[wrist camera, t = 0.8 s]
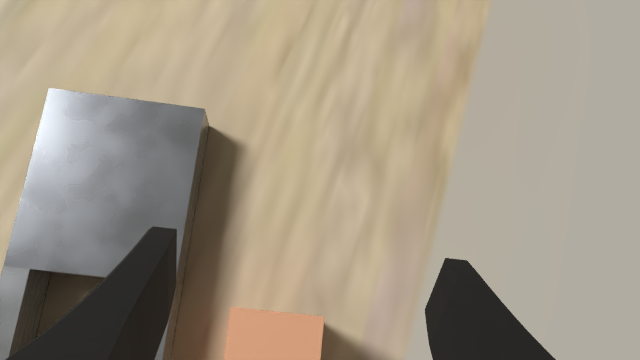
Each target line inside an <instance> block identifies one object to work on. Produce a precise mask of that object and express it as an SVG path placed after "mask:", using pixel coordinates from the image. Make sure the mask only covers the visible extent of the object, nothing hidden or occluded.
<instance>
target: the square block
mask: <svg viewBox="0 0 640 360" xmlns="http://www.w3.org/2000/svg"><path fill="white" fill-rule="evenodd" d="M323 326H324V317H321V316H312V315H303V314H293V313H283V312H273V311H264V310H254V309H244V308H234V307H231V308H230V315H229V323H228V330H227V337H226V344H225V351H224V358H223V360H320V358H321V347H322V337H323Z"/></svg>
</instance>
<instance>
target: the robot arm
mask: <svg viewBox="0 0 640 360" xmlns="http://www.w3.org/2000/svg"><path fill="white" fill-rule="evenodd" d="M176 269H177V229H172V228H163V227H154V226H153V227H151V228H150V229H148V230H147V232H146V233H145V234H144V236H143V237H142V238H141V239H140V240H139V242H138V243H137V244H136V245H135V246H134V247H133V249H132V250H131V251H130V252H129V253H128V254H127V255H126V256H125V258H124V259H123V260H122V261H121V262H120V263H119V264H118V265H117V266H116V267H115V268H114V269H113V270H112V271H111V272H110V273H109V274H108V275H107V277H106V278H105V279H104V280H103V281H102V282H101V283H100V284H99V285H98V286H96V287H95V288H94V289H93V290H92V291H91V292H90V293H89V294H88V295H87V296H86V297H85V298H84V299H82V300H81V301H80V302H79V303H78V304H77V305H76V306H75V307H74V308H73V309H71V310H70V311H69V312H68V313H67V314H66V315H64V316H63V317H62V318H61V319H60V320H58V321H57V322H56V323H55V324H53V325H52V326H51V327H50V328H48V329H47V330H46V331H44V332H43V333H42V334H41V335H39V336H38V337H36V338H35V339H34V340H32V341H31V342H30V343H28V344H27V345H25V346H24V347H23V348H21V349H20V350H19V351H17V352H16V353H14V354H13V355H11V356H10V357H8V358H7V359H5V360H155V357H156V354H157V351H158V349H159V346H160V343H161V340H162V337H163V334H164V332H165V329H166V326H167V323H168V320H169V315H170V311H171V307H172V303H173V298H174V294H175V289H176ZM425 315H426V324H427V332H428V339H429V345H430V350H431V354H432V358H433V360H556V359H554V358H553V357H552V356H551V355H550V354H549V353H548V352H547V351H546V350H545V349H544V348H543V347H542V346H541V345H540V343H538V341H537V340H536V339H535V338H534V337H533V336H532V335H531V334H530V333H529V332H528V331H527V330H526V329H525V328H524V327H523V325H521V323H520V322H519V321H518V320H517V319H516V318H515V317H514V315H513V314H512V313H511V312H510V311H509V310H508V309H507V307H506V306H505V305H504V304H503V303H502V302H501V301H500V299H499V298H498V297H497V296H496V294H495V293H494V292H493V291H492V290H491V289H490V287H489V286H488V285H487V284H486V283H485V281H484V280H483V279H482V278H481V276H480V275H479V274H478V273H477V272H476V270H475V269H474V268H473V267H472V266H471V265H470V263H469V262H468V261H466V260H457V259H449V258H445V260H444V263H443V265H442V268H441V270H440V273H439V276H438V278H437V280H436V283H435V286H434V288H433V291H432V293H431V296H430V298H429V301H428V303H427V306H426V308H425Z"/></svg>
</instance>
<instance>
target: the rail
mask: <svg viewBox="0 0 640 360" xmlns="http://www.w3.org/2000/svg"><path fill="white" fill-rule="evenodd" d="M208 129H209V123H208V119H207V116H206V112H205V109H202V108H194V107H187V106H180V105H172V104H165V103H157V102H150V101H143V100H135V99H128V98H120V97H113V96H105V95H98V94H91V93H83V92H76V91H68V90H61V89H54V88H49V90H48V94H47V98H46V102H45V106H44V110H43V114H42V118H41V122H40V126H39V129H38V133H37V137H36V141H35V145H34V149H33V153H32V157H31V161H30V165H29V168H28V172H27V176H26V180H25V184H24V188H23V192H22V196H21V200H20V204H19V207H18V211H17V215H16V219H15V223H14V227H13V231H12V235H11V239H10V243H9V246H8V250H7V254H6V258H5V262H4V266H3V270H2V274H1V278H0V360H5V359H7V358H8V357H10V356H11V355H13V354H14V353H16V352H17V351H19V350H20V349H21V348H23V347H24V346H25V345H27V344H28V343H30V342H31V341H32V340H34V339H35V338H36V334H37V329H38V325H39V321H40V316H41V312H42V308H43V303H44V299H45V295H46V290H47V286H48V282H49V278H50V273H59V274H68V275H78V276H87V277H97V278H106V277H107V275H108V274H109V273H110V272H111V271H112V270H113V269H114V268H115V267H116V266H117V265H118V264H119V263H120V262H121V261H122V260H123V259H124V258H125V256H126V255H127V254H128V253H129V252H130V251H131V250H132V249H133V247H134V246H135V245H136V244H137V243H138V242H139V240H140V239H141V238H142V237H143V236H144V234H145V233H146V232H147V230H148V229H150V228H151V227H153V226H154V227H163V228H172V229H177V269H176V289H175V294H174V298H173V303H172V307H171V311H170V315H169V320H168V323H167V326H166V329H165V332H164V334H163V337H162V340H161V343H160V346H159V349H158V351H157V354H156V357H155V360H170V359H171V353H172V347H173V341H174V335H175V329H176V323H177V317H178V311H179V305H180V299H181V293H182V287H183V280H184V274H185V268H186V262H187V256H188V250H189V244H190V238H191V232H192V226H193V220H194V214H195V208H196V202H197V196H198V190H199V184H200V178H201V172H202V166H203V160H204V153H205V147H206V141H207V135H208Z"/></svg>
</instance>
